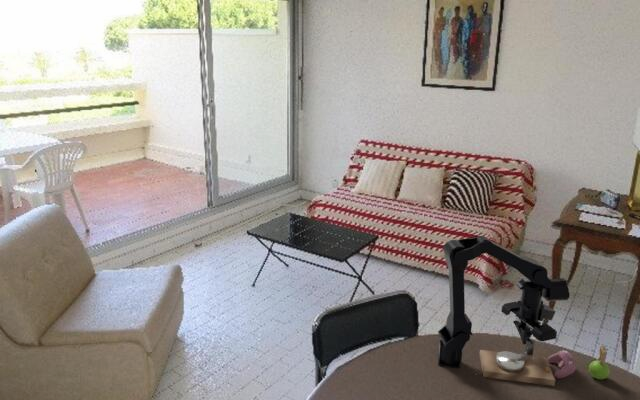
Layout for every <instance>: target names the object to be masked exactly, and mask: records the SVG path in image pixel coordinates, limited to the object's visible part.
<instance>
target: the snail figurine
mask: <svg viewBox="0 0 640 400" xmlns="http://www.w3.org/2000/svg"><path fill="white" fill-rule="evenodd" d="M608 350H609V347H608V348H607V347H606V346H605V345H600V348H599V355H598V358H597V360H594V361H592V362H590V364H589V366H588V370H589V373H590V376H592V377H593V378H595V379H596V380H605V379H607V378H608V377H609V375H610V371H611V369H610V368H609V367H610V366H609V365H608V364H607V363H606V359H607V355H608Z"/></svg>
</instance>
